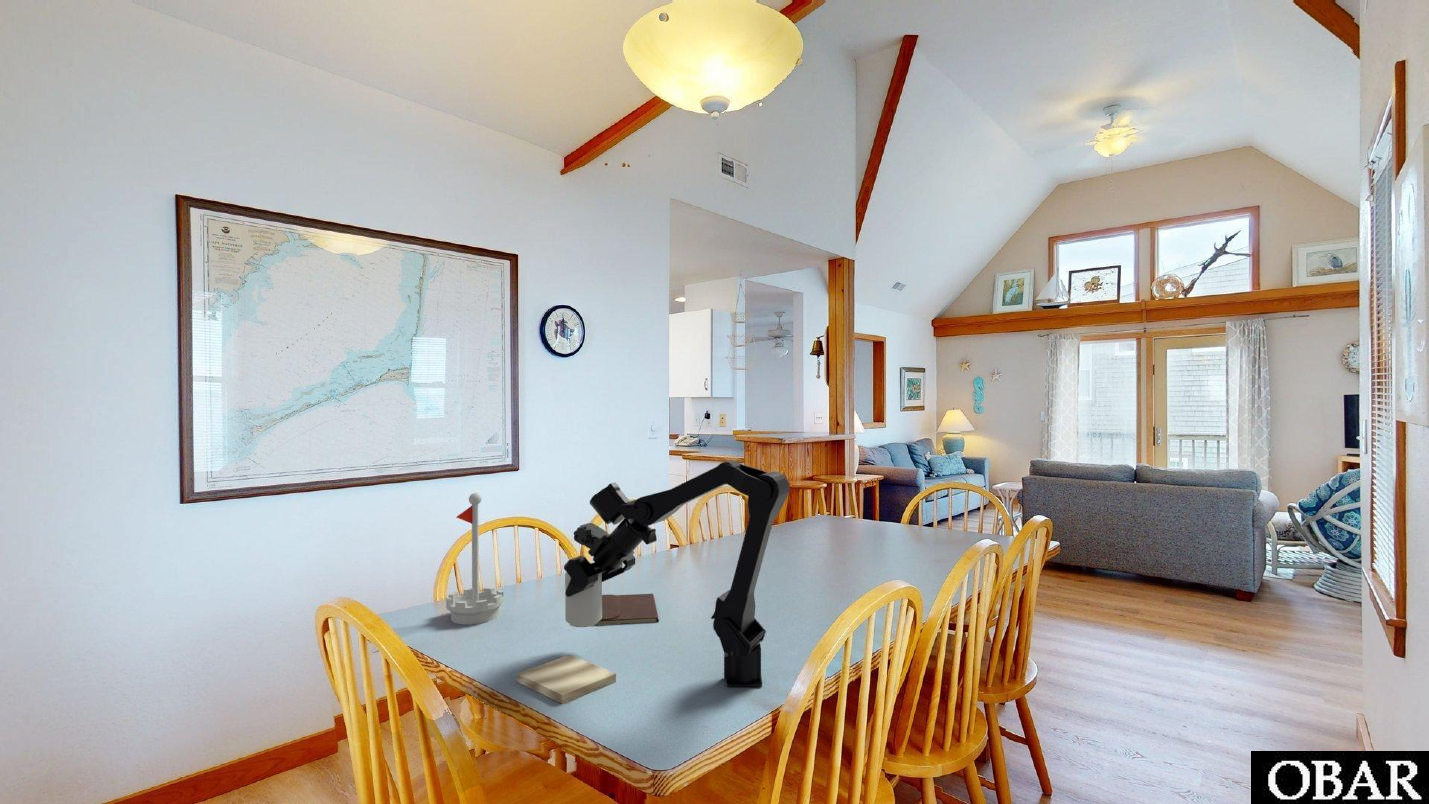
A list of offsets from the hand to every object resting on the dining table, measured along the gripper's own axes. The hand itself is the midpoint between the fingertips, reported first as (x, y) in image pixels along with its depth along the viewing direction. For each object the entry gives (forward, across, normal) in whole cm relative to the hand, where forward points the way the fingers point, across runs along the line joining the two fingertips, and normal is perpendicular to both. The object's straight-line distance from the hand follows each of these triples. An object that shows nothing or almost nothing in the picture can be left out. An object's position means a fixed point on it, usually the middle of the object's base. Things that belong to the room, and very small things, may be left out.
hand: (578, 590), depth 139 cm
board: (+4, +14, +14) cm, 20 cm away
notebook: (+13, -27, +6) cm, 30 cm away
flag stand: (+34, -8, -17) cm, 39 cm away
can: (+4, 0, +6) cm, 7 cm away
